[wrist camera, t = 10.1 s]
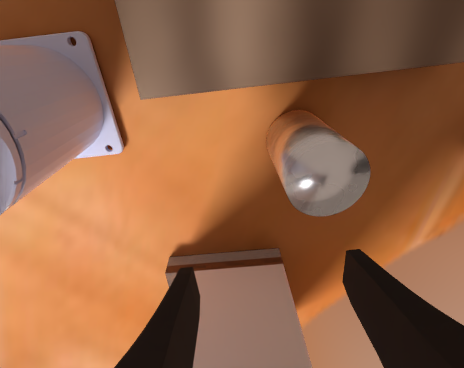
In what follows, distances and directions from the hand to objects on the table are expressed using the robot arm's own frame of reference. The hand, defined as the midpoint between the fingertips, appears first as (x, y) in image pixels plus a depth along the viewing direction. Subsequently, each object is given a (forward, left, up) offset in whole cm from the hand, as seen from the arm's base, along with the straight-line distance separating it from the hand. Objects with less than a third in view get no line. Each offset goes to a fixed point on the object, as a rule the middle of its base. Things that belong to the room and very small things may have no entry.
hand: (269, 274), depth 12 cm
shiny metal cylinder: (+4, +3, -10) cm, 11 cm away
